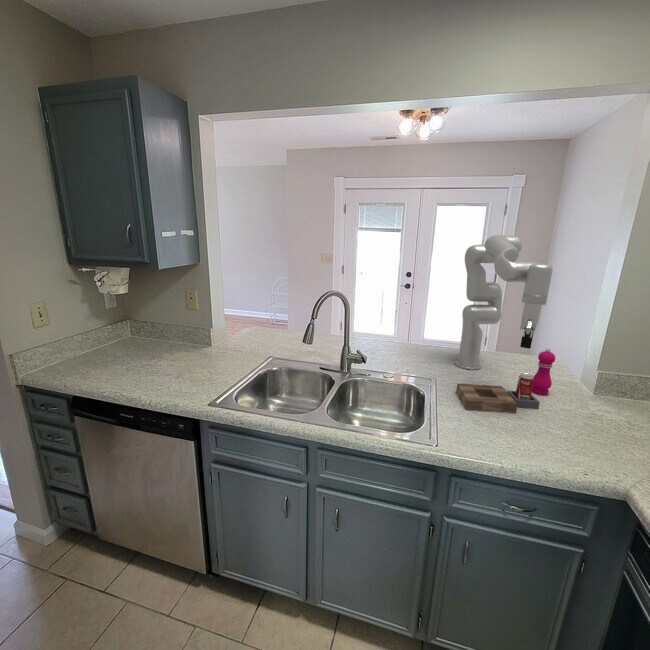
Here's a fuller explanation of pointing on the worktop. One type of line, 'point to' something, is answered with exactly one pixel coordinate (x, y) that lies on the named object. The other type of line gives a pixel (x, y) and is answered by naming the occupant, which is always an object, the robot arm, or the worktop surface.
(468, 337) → the robot arm
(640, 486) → the worktop surface
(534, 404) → the holster
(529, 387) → the soda can
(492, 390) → the block
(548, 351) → the pepper mill
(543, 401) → the worktop surface
